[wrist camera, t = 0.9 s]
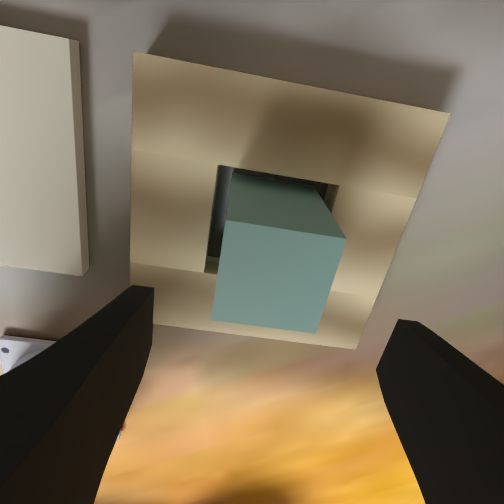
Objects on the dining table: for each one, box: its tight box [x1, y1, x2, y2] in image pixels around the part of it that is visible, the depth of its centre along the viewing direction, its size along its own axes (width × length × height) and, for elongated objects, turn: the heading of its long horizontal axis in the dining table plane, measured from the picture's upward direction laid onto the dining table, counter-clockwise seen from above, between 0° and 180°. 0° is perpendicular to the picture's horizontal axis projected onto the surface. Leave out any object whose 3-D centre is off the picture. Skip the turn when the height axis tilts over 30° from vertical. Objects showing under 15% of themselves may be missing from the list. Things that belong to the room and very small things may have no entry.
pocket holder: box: [129, 51, 451, 349], centre depth 19 cm, size 14×14×2 cm
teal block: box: [211, 172, 347, 334], centre depth 16 cm, size 4×4×7 cm
